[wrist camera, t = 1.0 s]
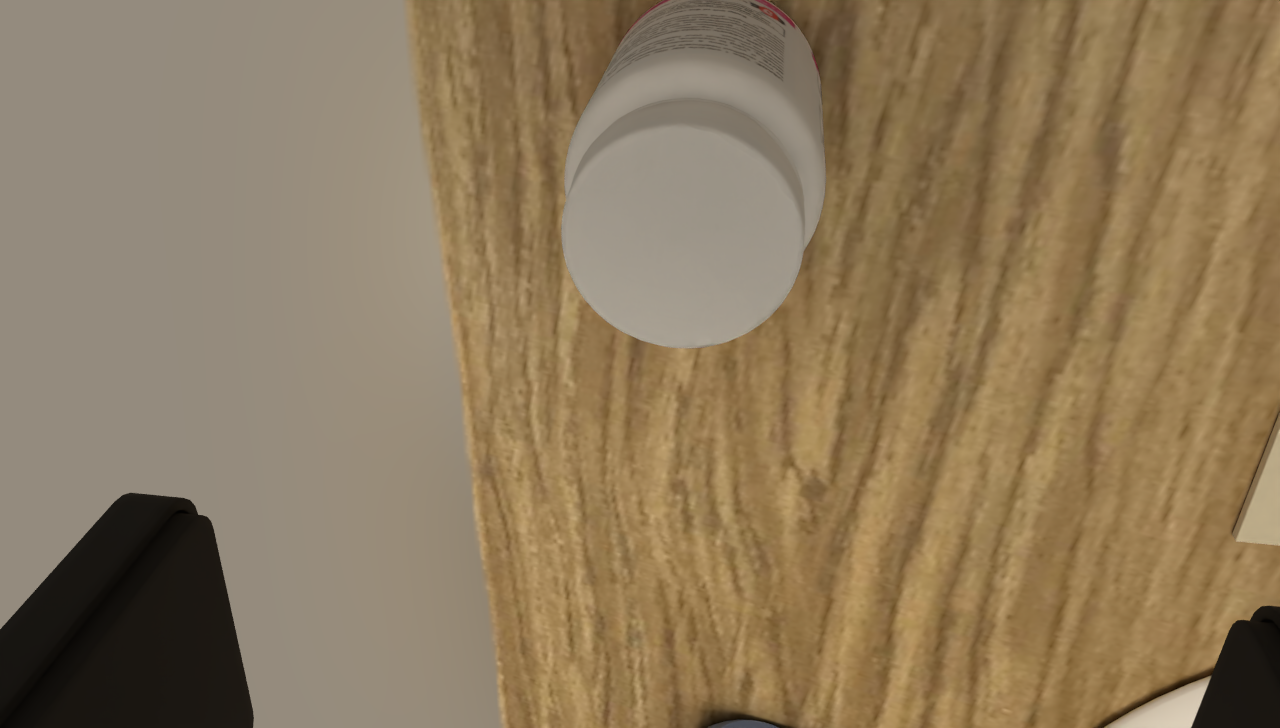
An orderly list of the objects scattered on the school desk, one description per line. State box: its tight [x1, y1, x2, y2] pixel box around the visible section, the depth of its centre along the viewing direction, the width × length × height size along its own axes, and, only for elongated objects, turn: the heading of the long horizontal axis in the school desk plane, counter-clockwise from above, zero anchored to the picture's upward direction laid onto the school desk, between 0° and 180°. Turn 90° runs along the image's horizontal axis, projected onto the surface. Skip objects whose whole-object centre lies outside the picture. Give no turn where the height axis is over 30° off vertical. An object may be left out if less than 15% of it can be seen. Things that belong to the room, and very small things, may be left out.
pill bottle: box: [561, 0, 826, 348], centre depth 21 cm, size 5×5×8 cm
